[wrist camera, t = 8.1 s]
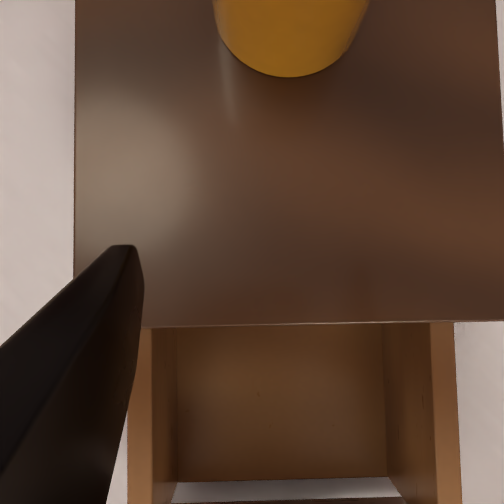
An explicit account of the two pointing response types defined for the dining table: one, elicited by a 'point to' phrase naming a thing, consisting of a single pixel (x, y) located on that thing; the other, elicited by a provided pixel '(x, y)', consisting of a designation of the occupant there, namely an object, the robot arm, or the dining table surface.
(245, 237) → the cabinet
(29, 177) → the dining table surface
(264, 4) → the yellow jar
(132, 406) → the drawer
